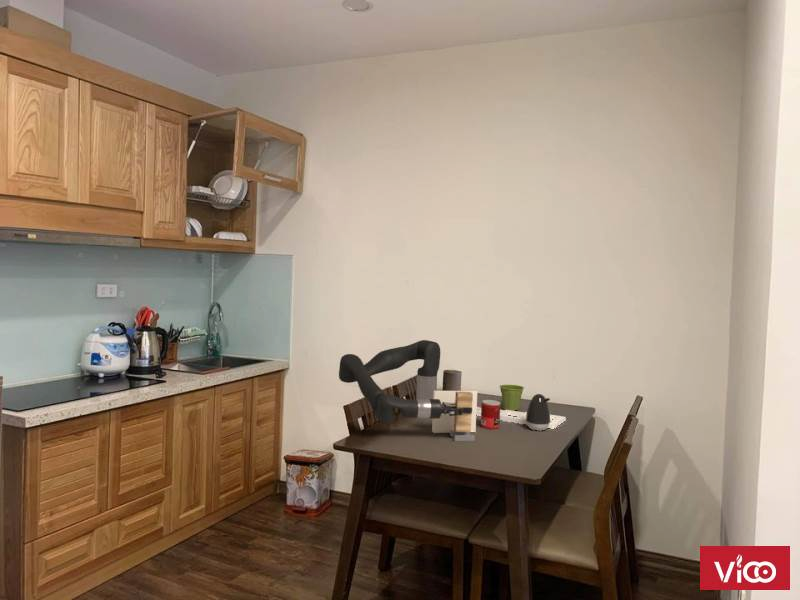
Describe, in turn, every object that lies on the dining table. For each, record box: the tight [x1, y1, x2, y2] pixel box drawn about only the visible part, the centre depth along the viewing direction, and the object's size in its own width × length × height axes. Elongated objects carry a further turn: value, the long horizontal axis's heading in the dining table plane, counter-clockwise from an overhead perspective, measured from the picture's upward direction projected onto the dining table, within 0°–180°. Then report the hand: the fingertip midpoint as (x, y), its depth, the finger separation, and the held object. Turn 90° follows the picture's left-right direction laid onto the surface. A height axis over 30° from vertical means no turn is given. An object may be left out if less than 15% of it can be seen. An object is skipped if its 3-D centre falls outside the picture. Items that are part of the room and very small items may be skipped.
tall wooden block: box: [454, 392, 473, 432], centre depth 243 cm, size 4×6×15 cm, turn 100°
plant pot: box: [499, 384, 525, 411], centre depth 298 cm, size 12×12×11 cm
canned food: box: [480, 399, 501, 430], centre depth 263 cm, size 8×8×11 cm
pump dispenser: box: [526, 393, 551, 432], centre depth 262 cm, size 10×10×15 cm
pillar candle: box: [441, 368, 463, 391], centre depth 323 cm, size 10×10×15 cm
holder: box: [476, 406, 567, 430], centre depth 283 cm, size 45×18×3 cm, turn 58°
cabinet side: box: [431, 390, 478, 442], centre depth 246 cm, size 14×18×17 cm
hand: (470, 409), depth 243 cm, fingers closed on tall wooden block, 3 cm apart
